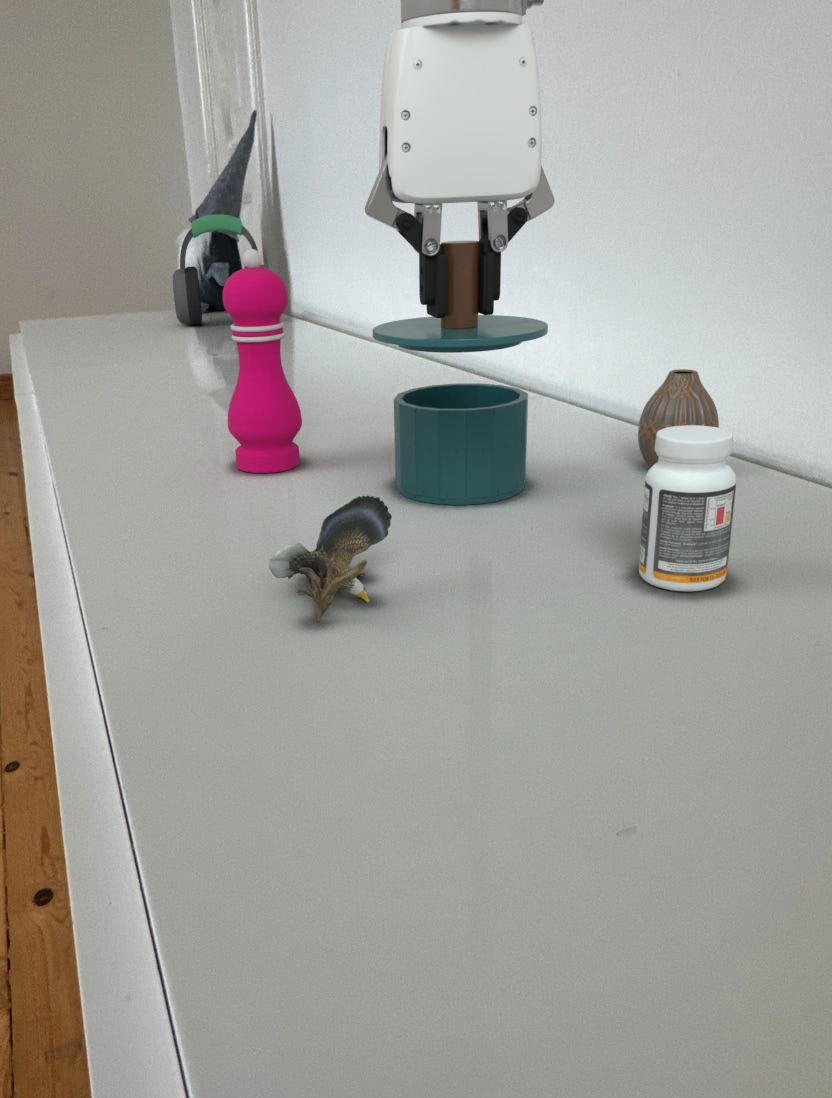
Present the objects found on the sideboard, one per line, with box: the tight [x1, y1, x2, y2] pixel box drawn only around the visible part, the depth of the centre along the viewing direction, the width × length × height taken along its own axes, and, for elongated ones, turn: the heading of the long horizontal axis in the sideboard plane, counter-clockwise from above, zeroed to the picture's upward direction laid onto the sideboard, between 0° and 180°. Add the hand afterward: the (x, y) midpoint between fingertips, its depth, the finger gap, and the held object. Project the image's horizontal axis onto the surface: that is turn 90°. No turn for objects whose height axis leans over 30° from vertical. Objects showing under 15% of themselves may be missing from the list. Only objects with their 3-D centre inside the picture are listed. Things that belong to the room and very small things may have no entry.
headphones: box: [172, 213, 269, 326], centre depth 195 cm, size 19×11×20 cm, turn 97°
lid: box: [372, 240, 549, 354], centre depth 69 cm, size 12×12×7 cm
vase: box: [637, 368, 720, 468], centre depth 90 cm, size 7×7×9 cm
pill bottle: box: [638, 425, 737, 592], centre depth 65 cm, size 6×6×10 cm
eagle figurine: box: [268, 495, 393, 623], centre depth 66 cm, size 8×7×9 cm
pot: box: [393, 382, 529, 506], centre depth 88 cm, size 11×11×8 cm
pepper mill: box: [222, 248, 303, 474], centre depth 95 cm, size 7×7×20 cm
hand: (459, 311), depth 69 cm, fingers closed on lid, 2 cm apart
